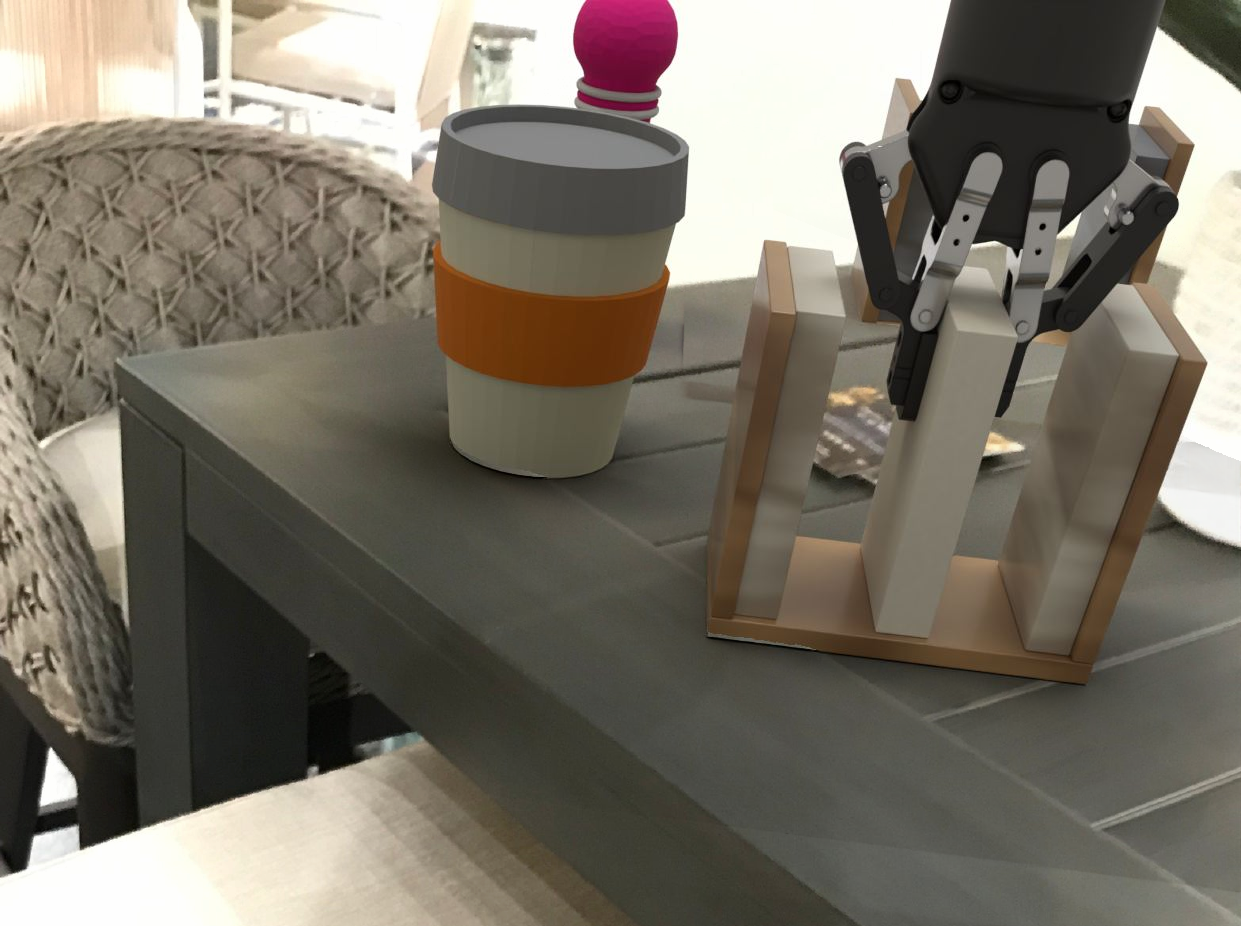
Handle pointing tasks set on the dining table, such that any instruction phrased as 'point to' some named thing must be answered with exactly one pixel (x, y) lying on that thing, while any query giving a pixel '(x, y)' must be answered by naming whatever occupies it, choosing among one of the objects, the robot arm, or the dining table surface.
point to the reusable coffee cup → (550, 276)
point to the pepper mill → (623, 55)
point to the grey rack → (1151, 149)
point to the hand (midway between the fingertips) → (941, 417)
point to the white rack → (974, 588)
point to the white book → (936, 459)
